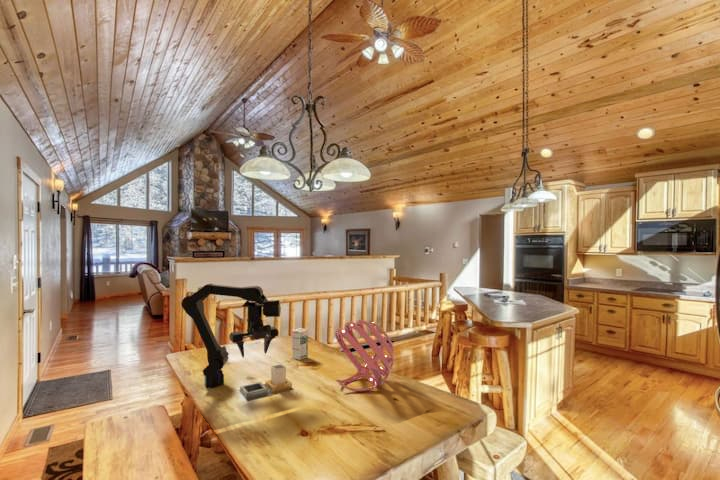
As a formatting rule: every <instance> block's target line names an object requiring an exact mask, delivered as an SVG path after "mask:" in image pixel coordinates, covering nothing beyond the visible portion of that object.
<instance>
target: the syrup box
mask: <svg viewBox="0 0 720 480" xmlns="http://www.w3.org/2000/svg"><path fill="white" fill-rule="evenodd" d="M308 339H309V338H308V329H307V328H303V327H302V328H301V327H300V328H297V329H296V328H295V329H293V330H291V345H292V346H291V350H292V351H291V352H292V355H291V357H292V359H293V360H298V361H301V360H303V359H306V358H308V357H309V354H308V352H309V351H308V350H309V349H308V347H309V346H308V342H309V341H308Z"/></svg>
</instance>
